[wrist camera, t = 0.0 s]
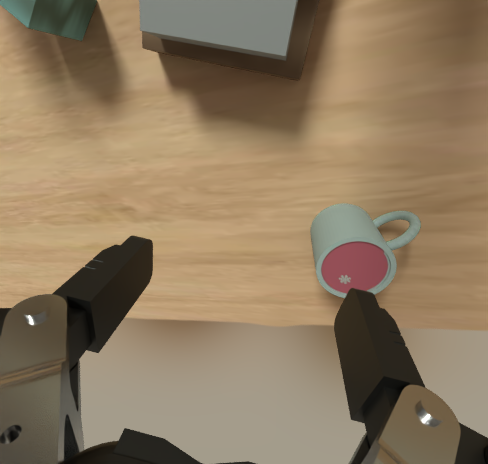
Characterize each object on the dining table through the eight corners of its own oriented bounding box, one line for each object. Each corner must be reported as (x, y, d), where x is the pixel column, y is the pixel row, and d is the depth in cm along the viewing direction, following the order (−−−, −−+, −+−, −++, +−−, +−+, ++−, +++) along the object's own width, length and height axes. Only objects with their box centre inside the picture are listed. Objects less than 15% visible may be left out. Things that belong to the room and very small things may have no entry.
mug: (328, 264, 44) (338, 308, 35) (299, 222, 41) (302, 258, 32) (414, 225, 38) (451, 265, 30) (387, 174, 36) (419, 201, 27)
